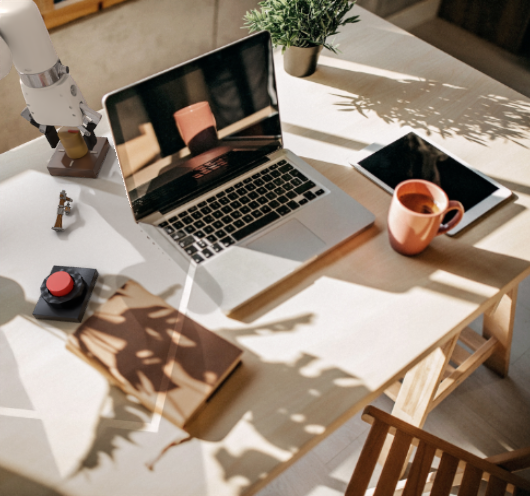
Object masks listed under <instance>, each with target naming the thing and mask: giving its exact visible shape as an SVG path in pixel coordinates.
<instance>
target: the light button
mask: <svg viewBox="0 0 530 496" xmlns="http://www.w3.org/2000/svg"><path fill="white" fill-rule="evenodd" d="M46 285H47V288H48V289H49V291H50V292H51V293H52V294H53V295H54V296H58V297H60V296H64V295H67V294H68V293H70V292H71V290H72V289H73V287H74V281H73V280H72V278H71V276H70V275H69V274H68V273H67V272H64V271H59V272H56V273H54V274H52V275H51V276H50V277H49V278H48V280H47V283H46Z"/></svg>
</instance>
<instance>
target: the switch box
mask: <svg viewBox="0 0 530 496" xmlns="http://www.w3.org/2000/svg"><path fill="white" fill-rule="evenodd" d="M59 271H64V272H67V273H68V274H69V275H70V276H71V278H72V280H73V281H74V287H73V289H72V290H71V292H70V293H68V294H67V295H64V296H60V297H58V296H54V295H53V294H52V293H51V292H50V291H49V289H48V288H47V285H46V283H47V280H48V278H49V277H50V276H51V275H52V274H54V273H56V272H59ZM99 275H100V273H99V271H98V269H97V268H92V267H91V268H90V267H79V266H67V265H56V264H54V265H53V266H52V268H51V270H50V272H49V274H48V275H47V276H46V277H45V278H44V279H43V281H42V283H41V286H40V287H39V290H40V295H39V297H38V300H37V301H36V304H35V306H34V309H33V311H32V316H33V318H35V319H36V320H44V321H53V322H54V321H55V322H67V323H76V324H82V322H83V319H84V315H85V313H86V311H87V307H88V304H89V302H90V299H91V297H92V294H93V291H94V288H95V286H96V284H97V281H98V278H99Z"/></svg>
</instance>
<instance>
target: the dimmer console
mask: <svg viewBox="0 0 530 496" xmlns="http://www.w3.org/2000/svg"><path fill="white" fill-rule="evenodd" d="M96 138H97V144H96V145H95V146H94V148H93V151H89V150H88V151H87V153H86V154H85V155H84V156H83V157H81V158H77V159H73V158H70V157H68V156H67V154H66V152H65V149H64V147H63V145H62V143H61V141H59V143H58V145H57V146H56V148H55V149H54V152H53V153H52V156H51V158H50V159H49V161H48V163H47V165H46V169H47V170H48V174H49V175H50V176H53V177H54V176H55V177H67V178H68V177H71V178H83V179H85V178H86V179H98V175H99V173H100V172H101V168H102V167H103V164H104V162H105V159H106V157H107V155H108V153H109V150H110V148H111V144H110V141H109V138H108V137H107V136H96Z"/></svg>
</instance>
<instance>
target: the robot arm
mask: <svg viewBox="0 0 530 496" xmlns="http://www.w3.org/2000/svg"><path fill="white" fill-rule="evenodd" d="M38 7H39V6H38V5H37V3H36V2H35V1H34V0H0V81H1V80H3V79H4V78H6V77H7V76H8V75H9V73H10V72H11V70H12V68H13V67H14V68H15V71H16V73H17V74H18V76H19V84H20V89H21V93H22V96H23V99H24V102H25V104H26V106H25V107H24V108H23V109H22V111H20V116H21V117H22V118H23V119H25V120H26V121H27V122H29V124H30V125H32V126H33V127H35V128H37V129H38V131H39V133H41V134H43V135H44V137H45V139H46V141H47V142H48V144H49V146H50V148H51V149H54V150H56V148H57V146H58V144H59V142H60V139H59V137H58V134H57V133H58V130H57V128H56V127H63V126H72V127H77V128H78V129H79V130H80V131H81V133H82V136H83V138H84V141H85V143H86V145H87V148H88V150H89V151H93V148H94V146H95V145H96V144H97V138H96V137H97V135H96V132H95V130H96V128H97V127H98V125H99V123H100V122H101V120H102V118H103V115H102V114H101V113H100V112H98V111H96V110H95V109H93V108H91V107H89V105H88V102H87V101H86V97H85V96H84V94H83V92H82V89H81V88H80V86H79V85H78V83H77V81H76V80H75V78H74V77H73V75H72V74H71V73H70V67H69V66H68V65H65V64H63V63H62V61H61V59H60V58H59V55H58V52H57V49H56V47H55V45H54V42H53V41H52V38H51V35H50V32H49V31H48V28H47V26H46V23H45V20H44V18H43V16H42V14H41V11H40V9H39V8H38Z"/></svg>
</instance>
